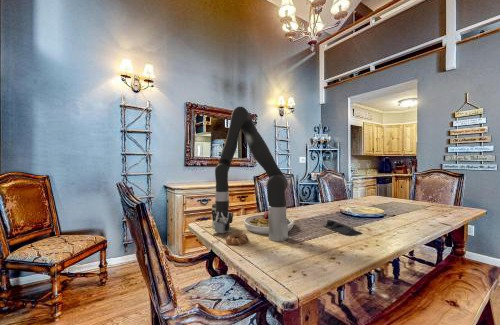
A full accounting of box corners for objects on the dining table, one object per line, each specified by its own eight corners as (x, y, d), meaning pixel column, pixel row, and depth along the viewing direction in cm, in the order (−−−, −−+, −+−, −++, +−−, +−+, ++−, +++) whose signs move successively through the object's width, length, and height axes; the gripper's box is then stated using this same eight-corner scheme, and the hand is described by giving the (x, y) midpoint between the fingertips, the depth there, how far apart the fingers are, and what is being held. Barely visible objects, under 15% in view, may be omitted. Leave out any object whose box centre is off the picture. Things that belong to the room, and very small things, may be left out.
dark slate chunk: (343, 239, 120) (343, 230, 120) (320, 227, 141) (320, 219, 141) (367, 236, 124) (367, 227, 124) (341, 225, 145) (341, 218, 145)
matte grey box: (229, 230, 127) (229, 221, 127) (223, 233, 122) (223, 224, 122) (221, 228, 130) (221, 220, 130) (214, 231, 125) (214, 222, 125)
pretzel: (232, 248, 107) (232, 240, 107) (221, 241, 116) (221, 234, 116) (252, 243, 114) (252, 235, 114) (241, 237, 123) (241, 230, 123)
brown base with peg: (231, 234, 127) (231, 223, 127) (223, 237, 121) (223, 226, 121) (221, 231, 131) (221, 221, 131) (213, 235, 125) (213, 224, 125)
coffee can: (229, 225, 145) (229, 203, 144) (227, 230, 134) (227, 206, 134) (213, 225, 145) (213, 203, 145) (210, 230, 134) (210, 206, 134)
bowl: (298, 236, 123) (298, 222, 123) (243, 236, 124) (242, 222, 123) (289, 221, 153) (289, 210, 153) (244, 221, 154) (244, 210, 153)
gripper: (236, 199, 125) (236, 230, 125) (216, 197, 133) (217, 226, 133) (228, 201, 119) (228, 233, 119) (207, 199, 127) (208, 229, 127)
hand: (222, 229), depth 126 cm, fingers closed on matte grey box, 5 cm apart
